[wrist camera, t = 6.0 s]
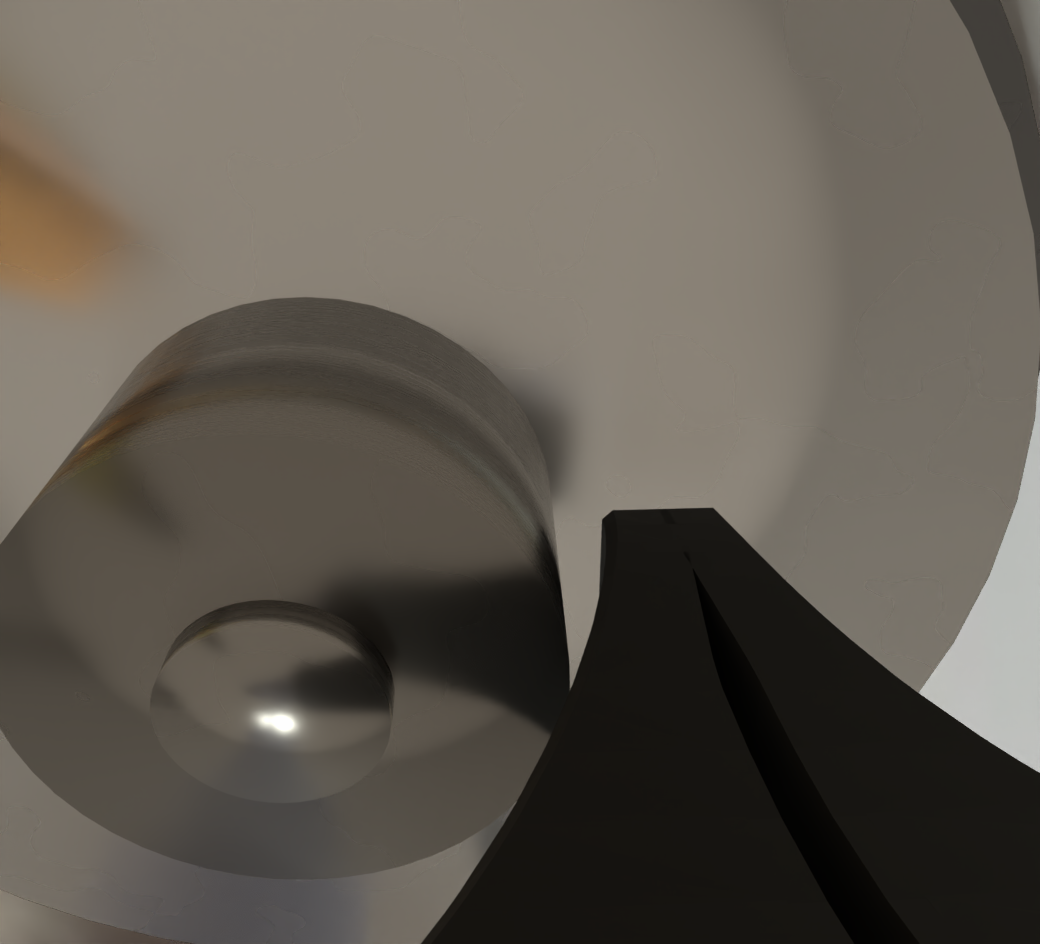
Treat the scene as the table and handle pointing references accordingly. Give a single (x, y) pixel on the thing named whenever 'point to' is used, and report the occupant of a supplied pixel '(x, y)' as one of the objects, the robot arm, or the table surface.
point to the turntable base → (1008, 96)
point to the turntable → (539, 302)
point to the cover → (290, 598)
